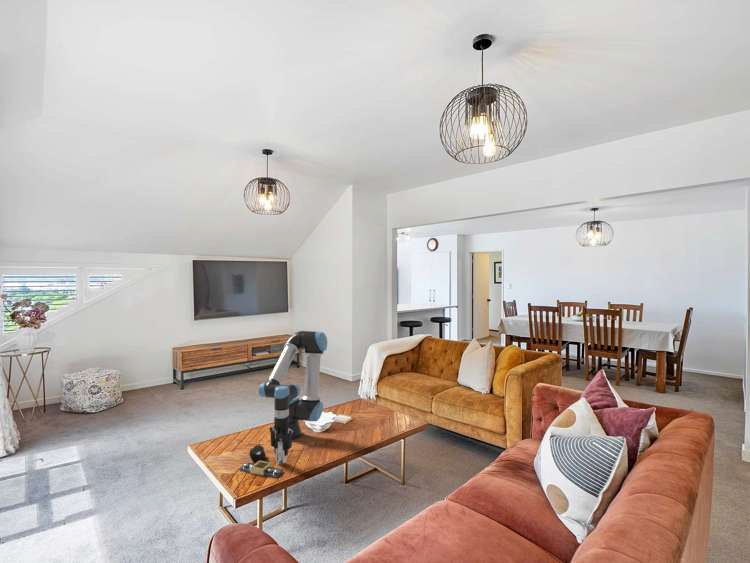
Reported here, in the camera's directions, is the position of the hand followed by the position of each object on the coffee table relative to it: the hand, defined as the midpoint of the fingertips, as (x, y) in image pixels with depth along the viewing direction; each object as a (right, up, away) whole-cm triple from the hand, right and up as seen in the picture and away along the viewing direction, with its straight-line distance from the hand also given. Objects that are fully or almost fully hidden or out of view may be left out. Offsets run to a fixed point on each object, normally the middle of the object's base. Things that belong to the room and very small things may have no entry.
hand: (281, 460), depth 204 cm
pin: (0, -2, 0) cm, 2 cm away
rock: (-14, -2, +5) cm, 15 cm away
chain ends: (-8, -2, -8) cm, 11 cm away
